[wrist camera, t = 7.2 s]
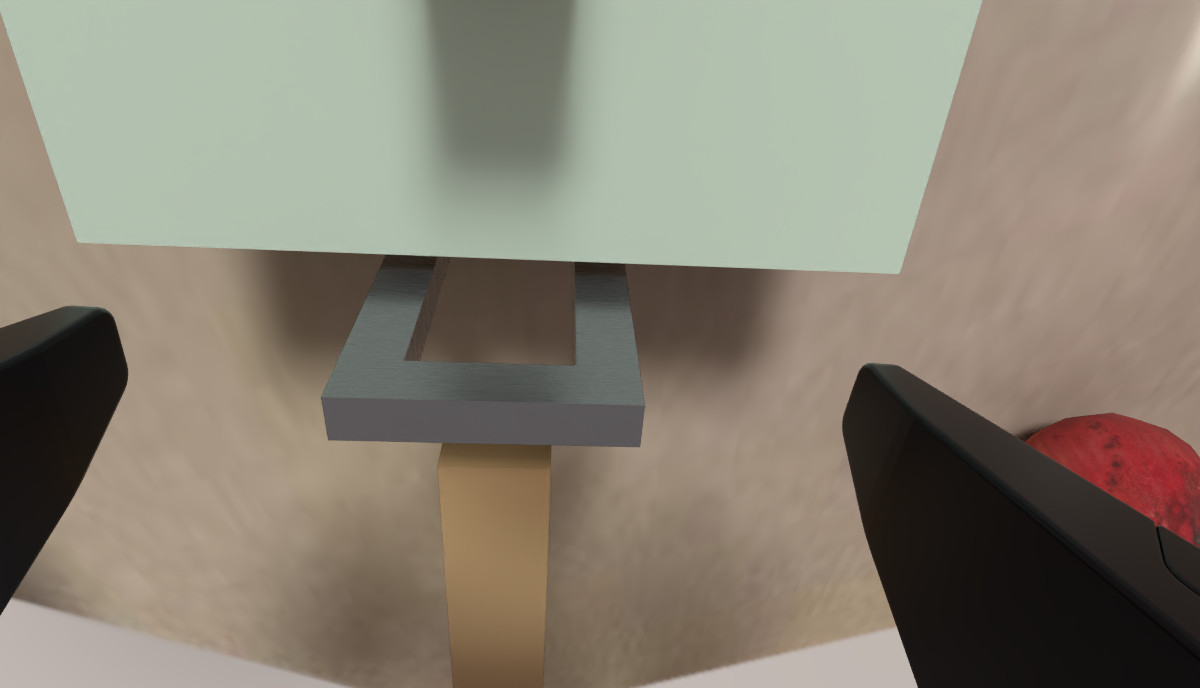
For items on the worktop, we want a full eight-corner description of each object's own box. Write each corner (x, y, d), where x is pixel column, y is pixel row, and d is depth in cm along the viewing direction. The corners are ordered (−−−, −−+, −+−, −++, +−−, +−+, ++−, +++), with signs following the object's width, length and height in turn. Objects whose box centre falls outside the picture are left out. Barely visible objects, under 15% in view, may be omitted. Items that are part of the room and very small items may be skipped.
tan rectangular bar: (539, 777, 23) (537, 851, 21) (472, 777, 23) (464, 852, 21) (552, 401, 15) (550, 468, 14) (451, 399, 15) (437, 466, 13)
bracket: (607, 189, 21) (640, 447, 12) (434, 181, 21) (328, 440, 11) (609, 160, 20) (644, 405, 11) (433, 152, 20) (320, 397, 11)
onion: (1024, 345, 24) (1201, 533, 17) (1167, 390, 25) (1384, 581, 19) (926, 476, 27) (1045, 680, 20) (1058, 510, 28) (1212, 714, 22)
